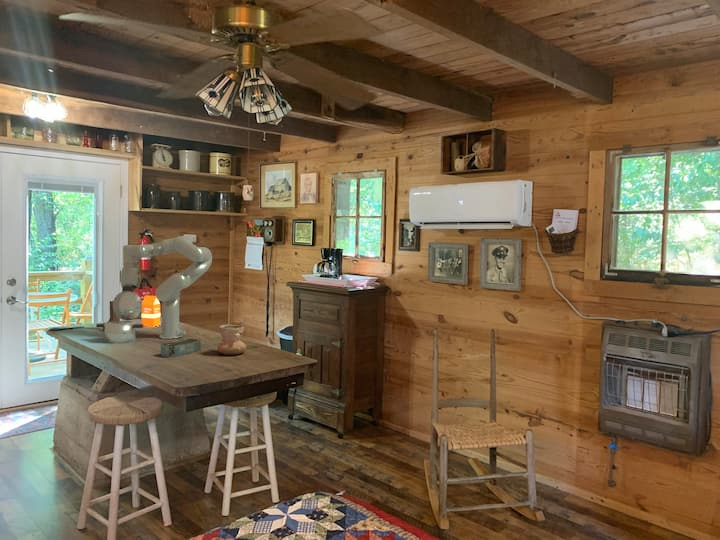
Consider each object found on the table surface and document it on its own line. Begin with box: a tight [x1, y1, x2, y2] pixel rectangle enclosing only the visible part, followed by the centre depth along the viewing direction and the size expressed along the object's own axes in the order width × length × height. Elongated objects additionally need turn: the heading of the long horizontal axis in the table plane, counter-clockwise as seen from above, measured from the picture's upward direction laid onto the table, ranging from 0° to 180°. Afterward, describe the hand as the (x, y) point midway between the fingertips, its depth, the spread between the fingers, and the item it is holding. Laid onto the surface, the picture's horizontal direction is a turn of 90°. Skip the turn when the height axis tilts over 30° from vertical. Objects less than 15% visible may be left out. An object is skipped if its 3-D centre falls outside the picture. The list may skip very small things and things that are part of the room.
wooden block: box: [102, 300, 121, 332], centre depth 343 cm, size 9×4×18 cm, turn 139°
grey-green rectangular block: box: [160, 338, 202, 358], centre depth 282 cm, size 8×19×7 cm, turn 142°
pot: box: [95, 320, 145, 344], centre depth 312 cm, size 26×17×10 cm, turn 88°
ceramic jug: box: [216, 324, 247, 356], centre depth 283 cm, size 18×14×14 cm
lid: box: [112, 286, 143, 321], centre depth 321 cm, size 17×20×4 cm
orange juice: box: [141, 294, 161, 328], centre depth 359 cm, size 8×9×20 cm
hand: (130, 297), depth 324 cm, fingers closed
